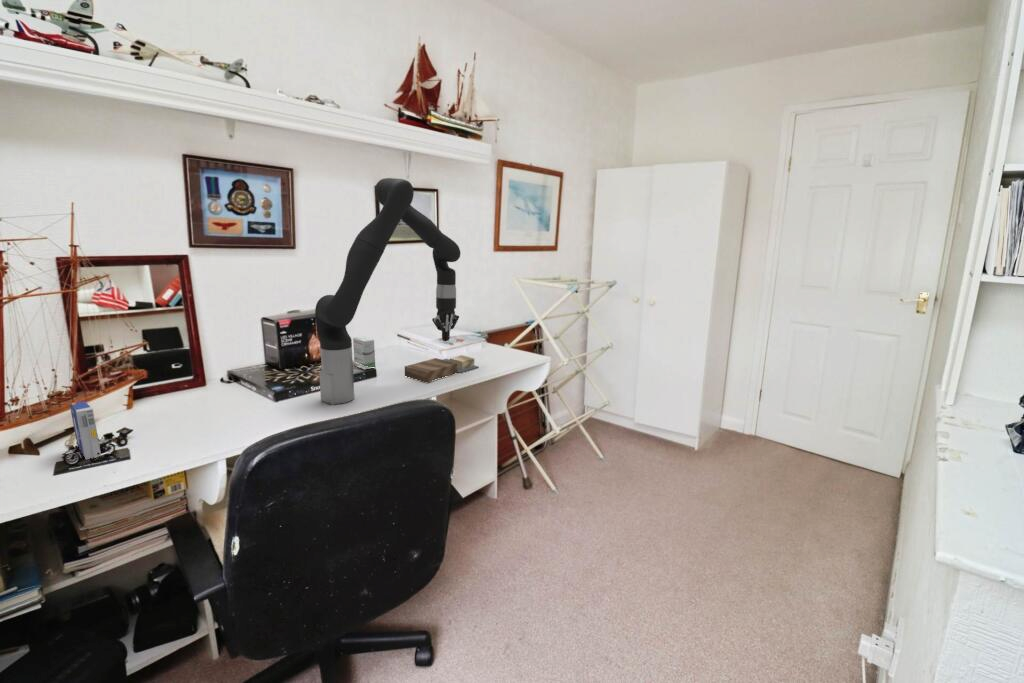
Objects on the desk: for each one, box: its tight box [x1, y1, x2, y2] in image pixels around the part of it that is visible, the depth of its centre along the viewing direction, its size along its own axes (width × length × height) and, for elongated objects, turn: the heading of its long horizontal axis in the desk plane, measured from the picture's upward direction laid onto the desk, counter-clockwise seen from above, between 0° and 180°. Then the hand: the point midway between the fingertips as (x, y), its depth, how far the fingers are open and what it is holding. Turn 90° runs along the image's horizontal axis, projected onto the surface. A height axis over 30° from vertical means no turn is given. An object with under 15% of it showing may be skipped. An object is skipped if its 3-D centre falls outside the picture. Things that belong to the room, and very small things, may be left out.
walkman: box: [69, 401, 102, 461], centre depth 111 cm, size 8×3×12 cm, turn 52°
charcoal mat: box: [443, 358, 480, 374], centre depth 193 cm, size 11×18×1 cm, turn 54°
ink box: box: [352, 336, 376, 368], centre depth 187 cm, size 9×5×12 cm, turn 46°
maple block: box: [449, 354, 475, 369], centre depth 192 cm, size 7×7×3 cm
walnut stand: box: [404, 357, 459, 383], centre depth 180 cm, size 16×12×4 cm
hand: (445, 340), depth 184 cm, fingers closed
